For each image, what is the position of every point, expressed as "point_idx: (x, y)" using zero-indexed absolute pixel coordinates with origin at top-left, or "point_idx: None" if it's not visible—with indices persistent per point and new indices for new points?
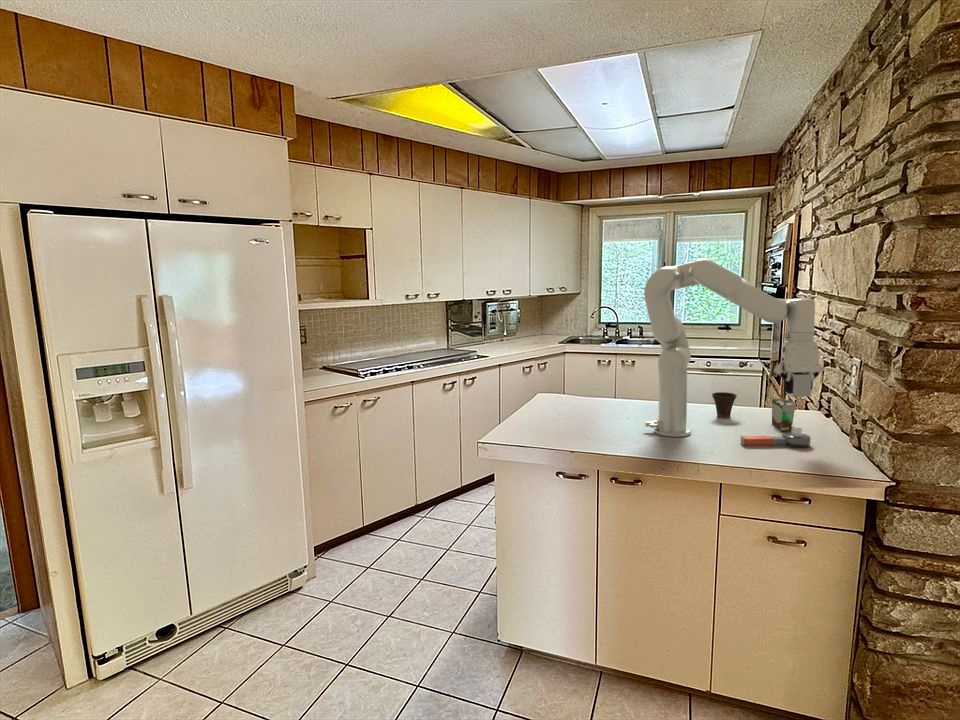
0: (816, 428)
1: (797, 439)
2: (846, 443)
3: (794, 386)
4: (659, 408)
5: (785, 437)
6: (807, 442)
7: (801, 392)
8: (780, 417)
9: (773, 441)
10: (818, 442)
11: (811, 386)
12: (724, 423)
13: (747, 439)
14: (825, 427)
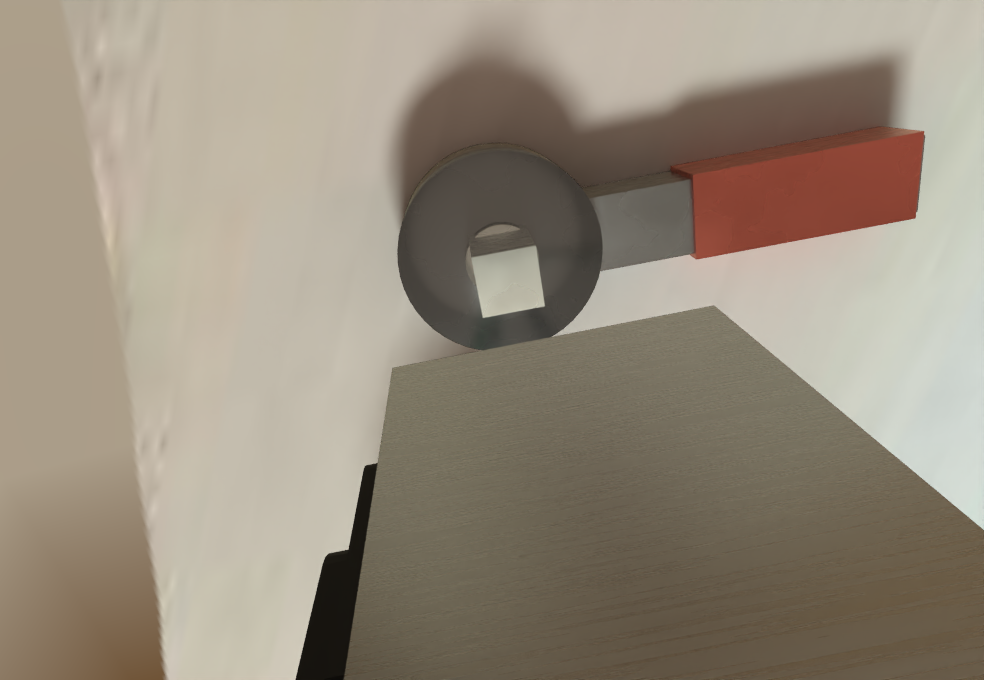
0: (275, 621)
1: (521, 151)
2: (136, 332)
3: (804, 406)
4: None
5: (594, 212)
6: (435, 171)
7: (579, 369)
8: None
9: (685, 170)
10: (324, 323)
11: (350, 547)
12: None
13: (901, 135)
14: (217, 649)
